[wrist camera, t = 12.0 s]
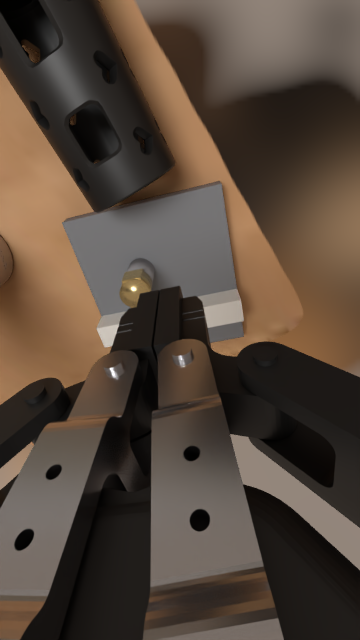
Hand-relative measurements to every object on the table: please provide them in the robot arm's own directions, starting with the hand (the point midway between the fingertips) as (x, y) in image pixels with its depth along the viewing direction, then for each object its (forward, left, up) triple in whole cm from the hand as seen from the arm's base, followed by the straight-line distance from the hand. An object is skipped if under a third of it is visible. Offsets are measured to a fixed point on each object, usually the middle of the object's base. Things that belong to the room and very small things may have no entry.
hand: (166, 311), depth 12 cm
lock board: (-4, -10, -27) cm, 29 cm away
